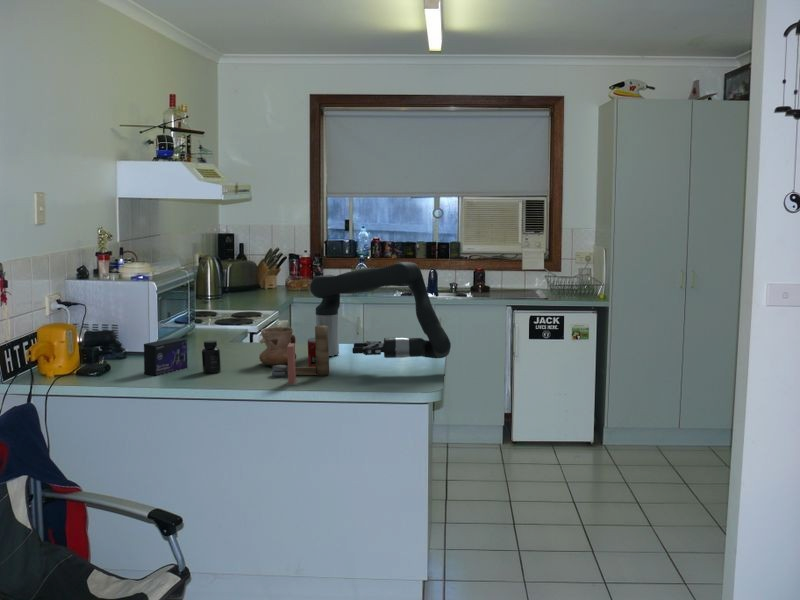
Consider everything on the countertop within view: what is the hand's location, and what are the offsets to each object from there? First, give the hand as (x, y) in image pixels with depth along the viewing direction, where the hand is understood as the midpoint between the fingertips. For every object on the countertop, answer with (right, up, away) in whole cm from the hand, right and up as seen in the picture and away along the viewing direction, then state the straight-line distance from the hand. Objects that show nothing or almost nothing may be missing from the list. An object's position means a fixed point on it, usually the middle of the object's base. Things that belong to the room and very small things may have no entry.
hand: (353, 348), depth 331 cm
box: (-72, -10, +12) cm, 74 cm away
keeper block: (-21, -12, -12) cm, 27 cm away
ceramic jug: (-30, -8, +22) cm, 38 cm away
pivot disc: (-27, -10, +1) cm, 29 cm away
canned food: (-14, -8, +16) cm, 23 cm away
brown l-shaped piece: (-20, -10, +1) cm, 22 cm away
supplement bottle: (-54, -10, +9) cm, 56 cm away
